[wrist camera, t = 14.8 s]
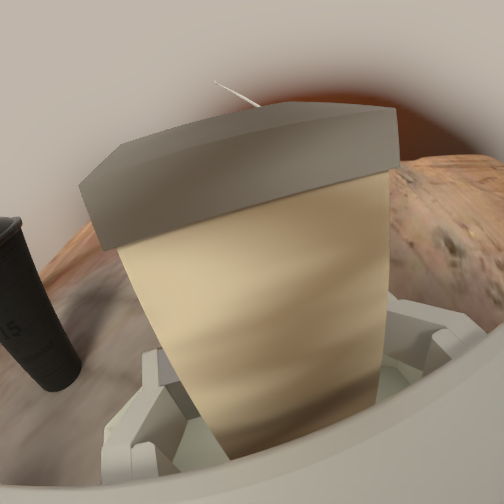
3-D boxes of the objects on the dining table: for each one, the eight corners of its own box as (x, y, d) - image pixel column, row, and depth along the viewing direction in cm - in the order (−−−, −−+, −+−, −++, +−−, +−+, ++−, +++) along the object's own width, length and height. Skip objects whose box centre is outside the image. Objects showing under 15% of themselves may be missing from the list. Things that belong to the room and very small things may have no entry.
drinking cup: (26, 366, 25) (-70, 182, 15) (84, 333, 28) (-1, 141, 19) (33, 417, 19) (-102, 194, 10) (103, 378, 23) (-15, 136, 13)
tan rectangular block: (262, 511, 10) (77, 185, 4) (236, 431, 15) (121, 144, 8) (365, 472, 11) (395, 108, 4) (324, 400, 15) (287, 101, 9)
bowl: (172, 644, 5) (131, 651, 3) (133, 397, 21) (108, 361, 19) (517, 504, 8) (555, 477, 6) (366, 319, 23) (366, 277, 22)
